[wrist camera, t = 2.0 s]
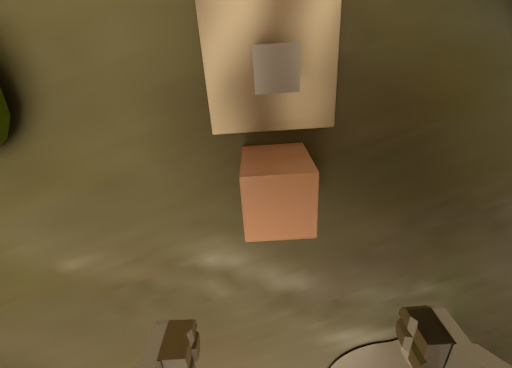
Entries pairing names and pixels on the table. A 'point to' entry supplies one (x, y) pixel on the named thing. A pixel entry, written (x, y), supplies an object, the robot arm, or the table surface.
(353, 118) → the table surface
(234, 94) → the post stand
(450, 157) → the table surface
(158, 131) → the table surface
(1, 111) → the apple
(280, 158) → the salmon orange block
